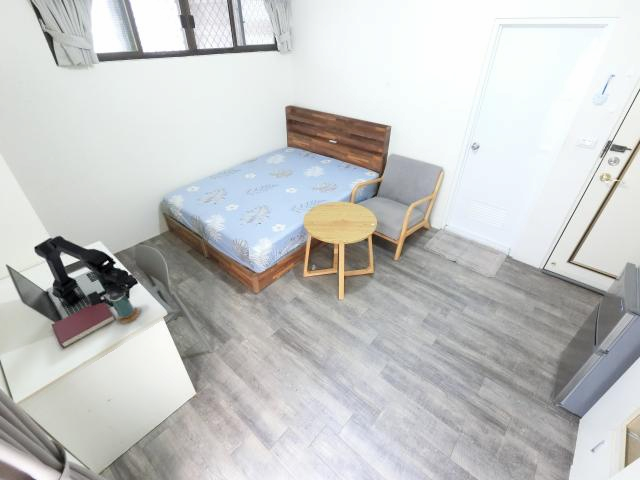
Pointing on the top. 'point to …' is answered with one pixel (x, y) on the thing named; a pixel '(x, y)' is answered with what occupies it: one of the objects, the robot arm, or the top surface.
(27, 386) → the top surface
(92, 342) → the top surface
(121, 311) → the pencil cup
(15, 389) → the top surface
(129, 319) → the coaster
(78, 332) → the book
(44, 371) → the top surface
